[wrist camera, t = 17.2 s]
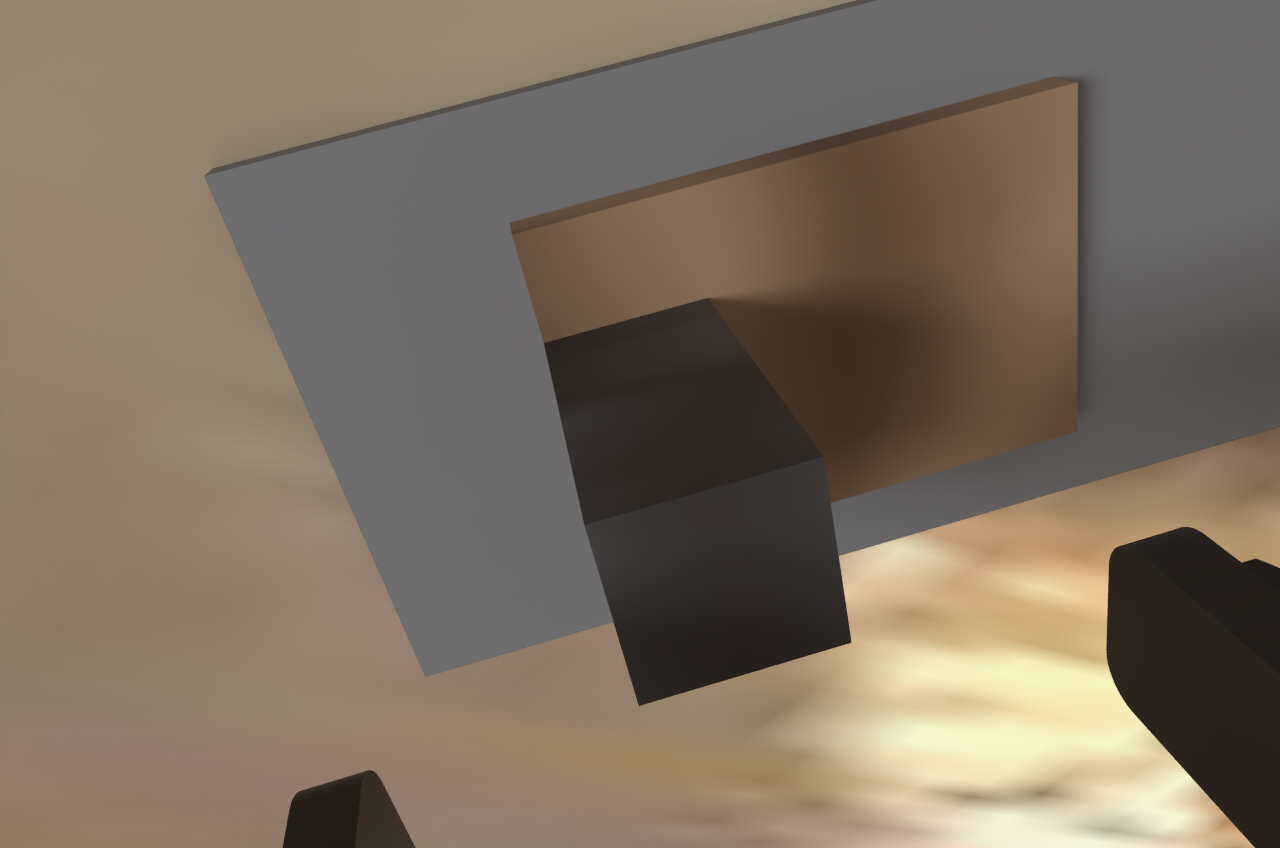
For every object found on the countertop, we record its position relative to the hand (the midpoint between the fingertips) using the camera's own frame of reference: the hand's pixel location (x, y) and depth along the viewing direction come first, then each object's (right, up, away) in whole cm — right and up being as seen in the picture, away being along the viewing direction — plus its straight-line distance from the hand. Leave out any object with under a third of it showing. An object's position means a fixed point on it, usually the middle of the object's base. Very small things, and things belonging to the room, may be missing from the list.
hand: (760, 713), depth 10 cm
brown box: (+2, +5, +8) cm, 10 cm away
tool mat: (+3, +6, +9) cm, 11 cm away
